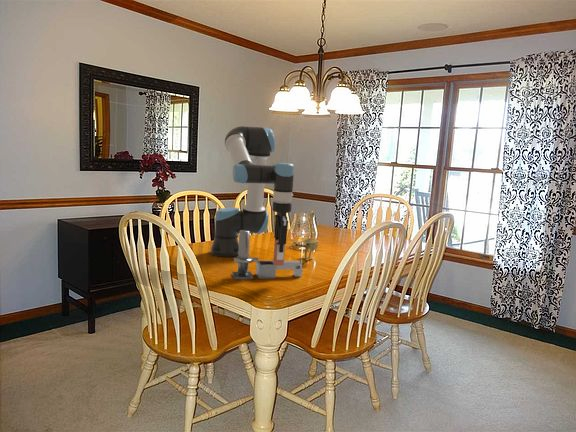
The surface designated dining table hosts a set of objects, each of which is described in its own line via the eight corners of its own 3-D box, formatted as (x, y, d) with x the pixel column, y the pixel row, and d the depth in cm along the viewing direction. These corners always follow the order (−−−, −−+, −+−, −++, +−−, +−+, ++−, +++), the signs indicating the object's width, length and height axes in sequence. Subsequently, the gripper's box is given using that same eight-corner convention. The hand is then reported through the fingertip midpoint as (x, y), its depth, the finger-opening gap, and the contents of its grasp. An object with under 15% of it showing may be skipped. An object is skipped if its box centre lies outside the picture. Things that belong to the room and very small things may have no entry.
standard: (232, 274, 196) (233, 229, 193) (255, 273, 199) (257, 229, 196) (234, 279, 189) (236, 232, 186) (258, 279, 191) (261, 233, 188)
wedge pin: (273, 262, 187) (274, 239, 185) (281, 262, 188) (283, 239, 186) (275, 265, 183) (276, 241, 182) (283, 265, 184) (285, 241, 182)
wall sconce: (302, 255, 236) (305, 208, 232) (320, 258, 233) (323, 210, 229) (295, 262, 222) (298, 212, 218) (313, 264, 220) (317, 214, 216)
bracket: (255, 273, 199) (256, 259, 198) (298, 273, 204) (299, 259, 202) (258, 278, 192) (259, 264, 191) (303, 278, 197) (304, 263, 196)
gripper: (296, 205, 174) (292, 263, 178) (286, 198, 190) (283, 252, 194) (277, 205, 172) (274, 264, 176) (269, 198, 188) (265, 252, 192)
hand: (278, 257), depth 185 cm, fingers closed on wedge pin, 4 cm apart
